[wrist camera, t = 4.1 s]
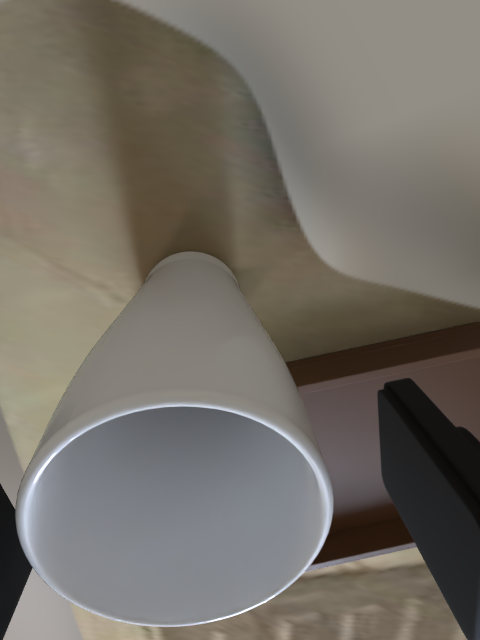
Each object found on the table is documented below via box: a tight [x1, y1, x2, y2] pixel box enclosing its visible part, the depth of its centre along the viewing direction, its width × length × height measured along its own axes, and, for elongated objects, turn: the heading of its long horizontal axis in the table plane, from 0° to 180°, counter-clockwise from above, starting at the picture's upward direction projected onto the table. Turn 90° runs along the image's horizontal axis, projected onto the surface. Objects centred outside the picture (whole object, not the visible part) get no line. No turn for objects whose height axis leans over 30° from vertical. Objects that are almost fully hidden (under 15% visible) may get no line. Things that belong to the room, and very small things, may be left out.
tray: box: [286, 322, 480, 572], centre depth 26 cm, size 19×15×3 cm
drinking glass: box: [15, 251, 334, 627], centre depth 15 cm, size 7×7×15 cm
